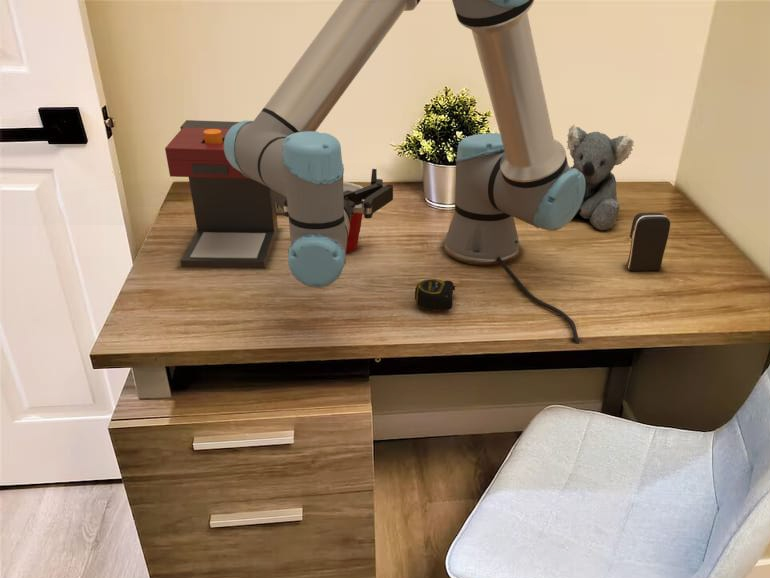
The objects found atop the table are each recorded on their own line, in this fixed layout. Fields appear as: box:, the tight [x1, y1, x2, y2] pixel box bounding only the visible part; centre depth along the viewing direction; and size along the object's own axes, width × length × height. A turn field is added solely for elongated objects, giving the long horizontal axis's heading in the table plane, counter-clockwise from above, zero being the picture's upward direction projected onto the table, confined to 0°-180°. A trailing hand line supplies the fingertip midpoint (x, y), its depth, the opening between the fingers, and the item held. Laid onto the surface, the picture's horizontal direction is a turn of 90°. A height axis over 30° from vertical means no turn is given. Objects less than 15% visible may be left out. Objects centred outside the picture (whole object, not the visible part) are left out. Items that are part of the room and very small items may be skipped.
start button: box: [203, 129, 223, 144], centre depth 129 cm, size 3×3×2 cm
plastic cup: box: [343, 181, 364, 254], centre depth 144 cm, size 11×11×12 cm
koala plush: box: [566, 124, 635, 231], centre depth 165 cm, size 17×18×20 cm
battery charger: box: [626, 211, 671, 272], centre depth 144 cm, size 7×4×11 cm, turn 100°
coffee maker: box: [164, 119, 279, 269], centre depth 138 cm, size 18×15×22 cm
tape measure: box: [414, 278, 456, 312], centre depth 128 cm, size 7×7×4 cm
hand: (335, 175), depth 129 cm, fingers open, 13 cm apart
